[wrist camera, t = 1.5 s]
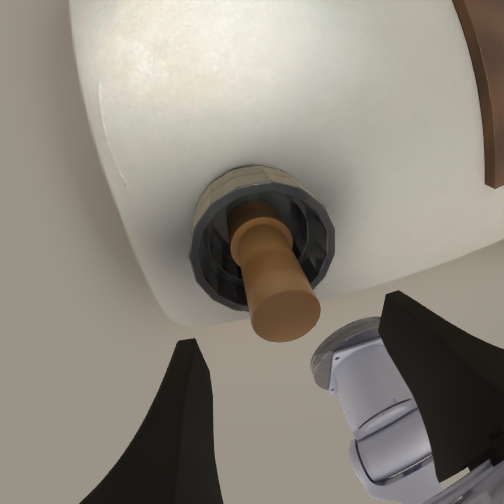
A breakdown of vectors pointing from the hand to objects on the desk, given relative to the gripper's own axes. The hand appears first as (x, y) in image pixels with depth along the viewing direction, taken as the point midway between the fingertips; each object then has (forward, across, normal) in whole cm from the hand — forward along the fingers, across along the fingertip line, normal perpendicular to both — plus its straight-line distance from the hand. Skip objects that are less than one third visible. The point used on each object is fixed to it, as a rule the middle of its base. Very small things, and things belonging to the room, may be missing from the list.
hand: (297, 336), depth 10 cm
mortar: (+11, 0, 0) cm, 11 cm away
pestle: (+10, 0, 0) cm, 10 cm away
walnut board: (+11, -25, -21) cm, 35 cm away
